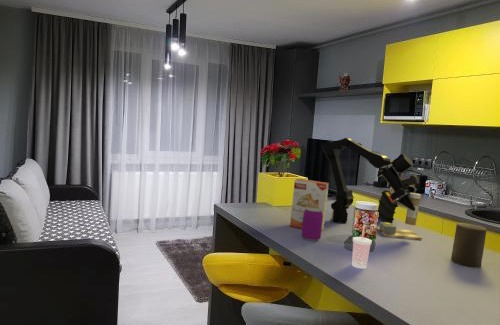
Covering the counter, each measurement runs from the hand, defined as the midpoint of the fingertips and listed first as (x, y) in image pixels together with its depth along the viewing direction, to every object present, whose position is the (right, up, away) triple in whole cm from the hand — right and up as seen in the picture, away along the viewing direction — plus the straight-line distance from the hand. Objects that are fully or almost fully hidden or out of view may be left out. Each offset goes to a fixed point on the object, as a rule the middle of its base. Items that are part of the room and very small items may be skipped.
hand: (416, 209), depth 169 cm
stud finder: (-10, -11, +8) cm, 17 cm away
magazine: (-2, -10, +33) cm, 35 cm away
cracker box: (-46, -9, +5) cm, 47 cm away
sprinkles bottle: (-2, -7, +1) cm, 7 cm away
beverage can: (-46, -10, -11) cm, 49 cm away
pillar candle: (+8, -17, -25) cm, 31 cm away
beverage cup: (-35, -14, -38) cm, 53 cm away
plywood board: (-5, -12, +8) cm, 15 cm away
